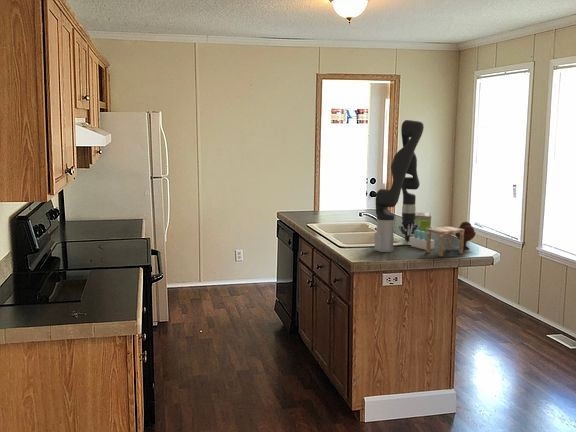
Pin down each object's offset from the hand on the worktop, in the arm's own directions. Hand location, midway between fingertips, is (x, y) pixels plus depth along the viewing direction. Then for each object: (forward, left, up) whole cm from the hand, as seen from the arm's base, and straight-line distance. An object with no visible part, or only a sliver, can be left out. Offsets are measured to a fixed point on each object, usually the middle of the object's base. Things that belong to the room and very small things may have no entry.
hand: (407, 241), depth 351 cm
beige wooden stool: (0, -30, -1) cm, 30 cm away
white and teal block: (0, -12, -1) cm, 12 cm away
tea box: (+19, +10, -1) cm, 21 cm away
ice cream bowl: (+18, -26, -1) cm, 32 cm away
